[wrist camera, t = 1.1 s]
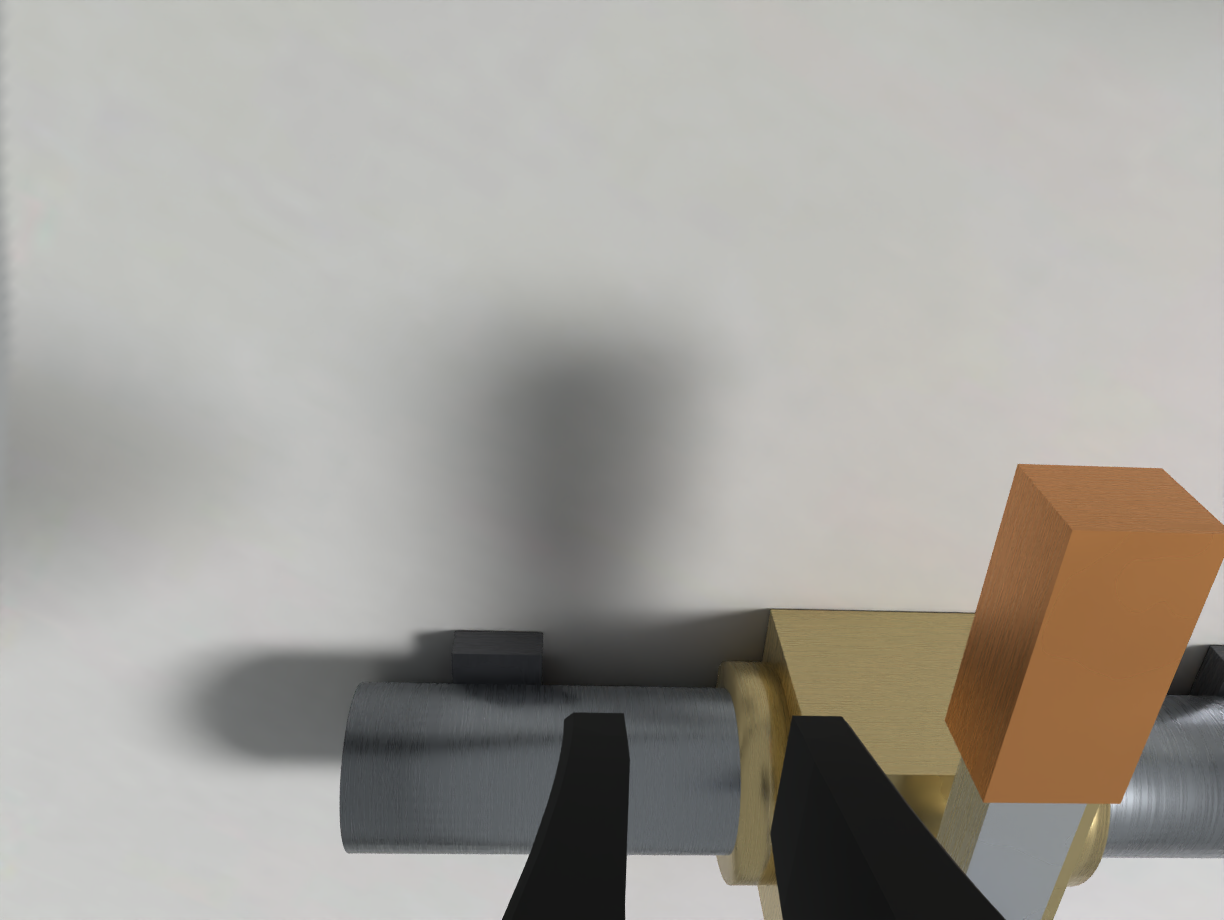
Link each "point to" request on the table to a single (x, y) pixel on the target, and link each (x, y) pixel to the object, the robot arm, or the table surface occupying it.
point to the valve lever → (1068, 664)
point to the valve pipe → (734, 749)
